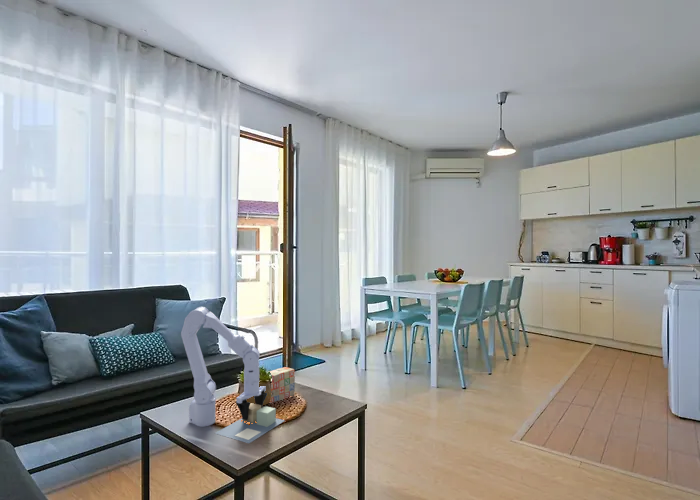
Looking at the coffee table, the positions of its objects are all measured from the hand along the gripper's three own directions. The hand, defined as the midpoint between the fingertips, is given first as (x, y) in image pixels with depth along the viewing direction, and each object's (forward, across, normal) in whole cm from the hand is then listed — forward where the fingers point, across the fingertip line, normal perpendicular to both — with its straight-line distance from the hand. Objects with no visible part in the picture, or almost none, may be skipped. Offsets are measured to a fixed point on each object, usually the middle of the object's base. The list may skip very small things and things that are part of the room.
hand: (251, 415), depth 153 cm
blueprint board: (+2, -5, -4) cm, 7 cm away
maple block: (+1, 0, 0) cm, 1 cm away
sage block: (+1, 0, -7) cm, 7 cm away
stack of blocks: (+3, +20, +6) cm, 21 cm away
